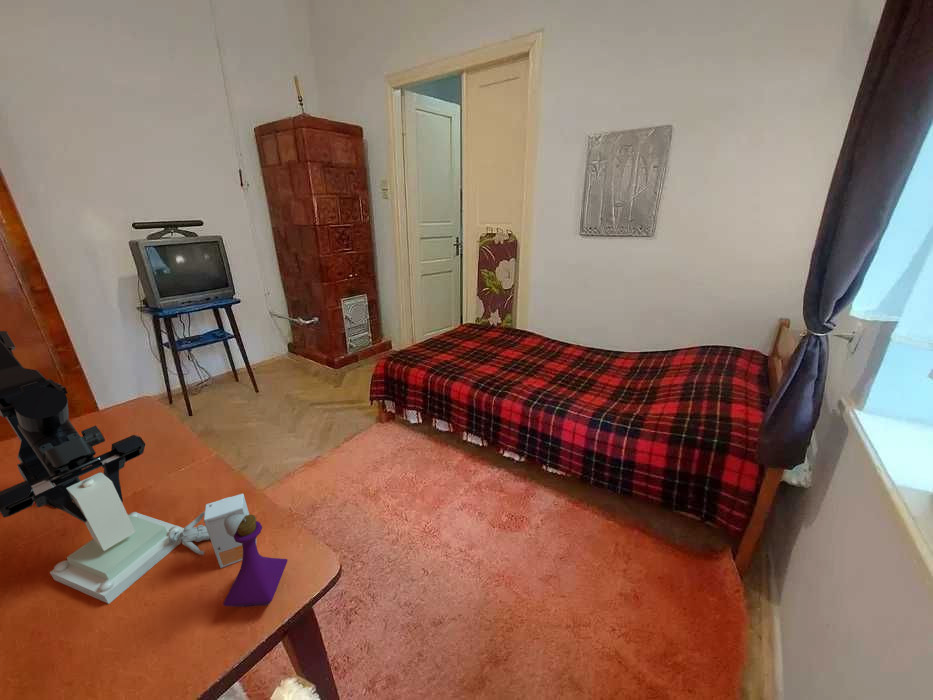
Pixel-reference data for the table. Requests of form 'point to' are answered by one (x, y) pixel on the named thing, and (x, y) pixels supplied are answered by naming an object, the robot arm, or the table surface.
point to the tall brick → (102, 510)
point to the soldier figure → (191, 535)
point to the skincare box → (214, 521)
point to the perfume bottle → (252, 565)
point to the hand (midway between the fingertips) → (104, 511)
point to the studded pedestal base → (117, 559)
